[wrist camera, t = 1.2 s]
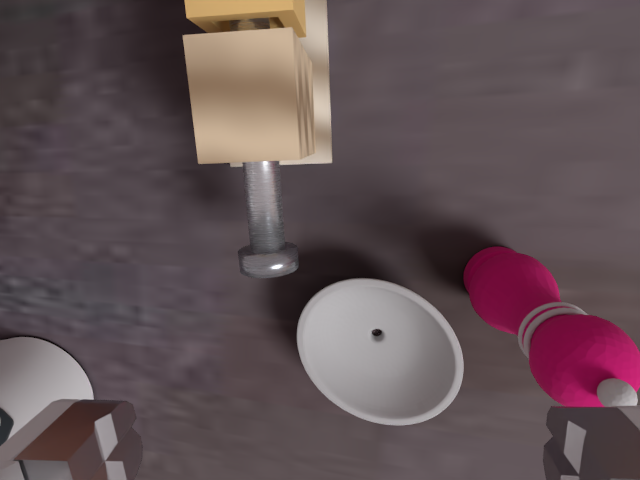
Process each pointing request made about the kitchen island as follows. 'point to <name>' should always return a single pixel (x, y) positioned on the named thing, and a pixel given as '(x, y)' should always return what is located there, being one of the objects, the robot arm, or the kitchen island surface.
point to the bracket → (262, 93)
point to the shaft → (264, 207)
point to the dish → (380, 351)
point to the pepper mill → (554, 331)
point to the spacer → (246, 13)
